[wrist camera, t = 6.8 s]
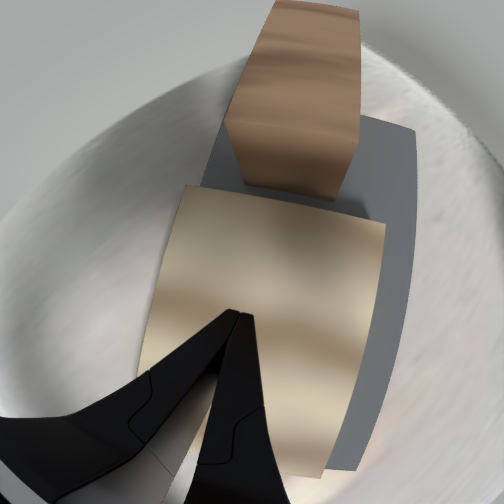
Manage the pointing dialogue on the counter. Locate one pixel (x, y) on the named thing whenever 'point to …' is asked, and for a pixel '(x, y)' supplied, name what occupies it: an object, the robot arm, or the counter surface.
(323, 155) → the walnut block
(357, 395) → the rubber mat
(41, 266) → the counter surface
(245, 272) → the birch board
